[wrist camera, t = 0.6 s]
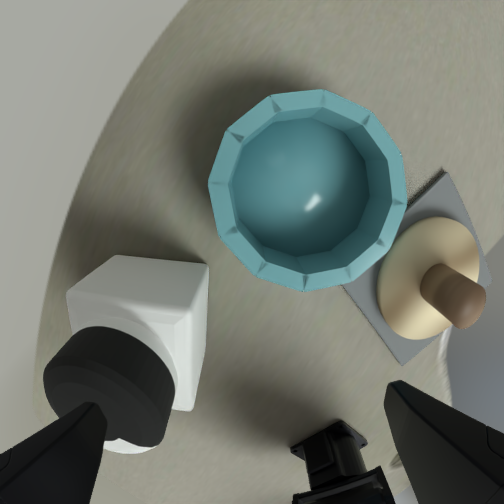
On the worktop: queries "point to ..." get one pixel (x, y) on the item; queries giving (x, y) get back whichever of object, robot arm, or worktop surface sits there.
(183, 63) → the worktop surface
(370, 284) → the mat
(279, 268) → the bowl
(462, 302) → the lid
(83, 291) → the medicine bottle
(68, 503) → the robot arm
